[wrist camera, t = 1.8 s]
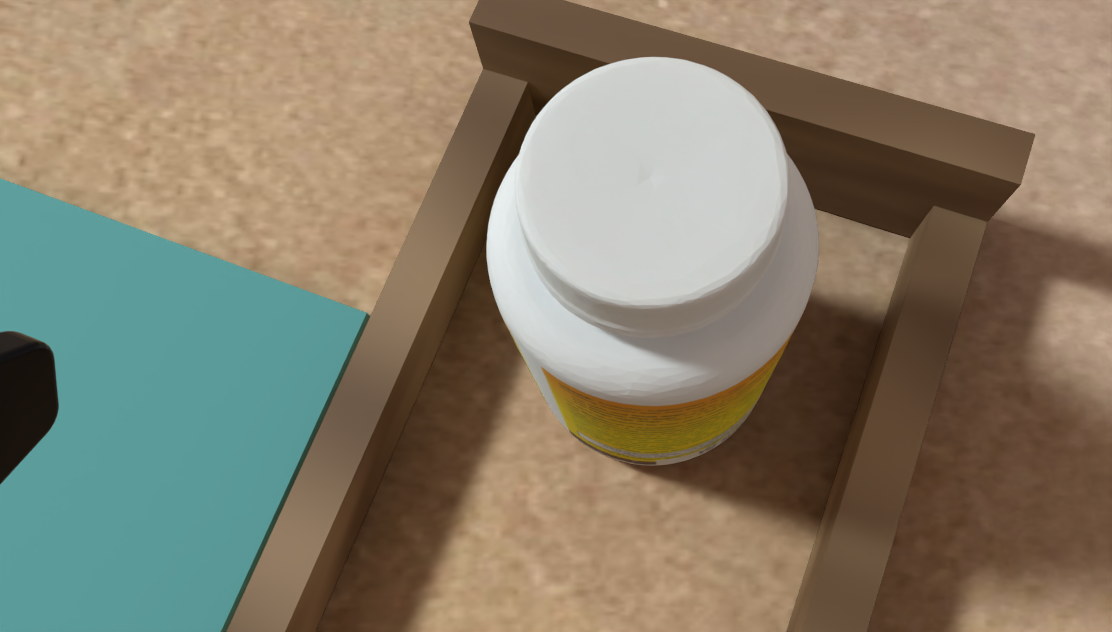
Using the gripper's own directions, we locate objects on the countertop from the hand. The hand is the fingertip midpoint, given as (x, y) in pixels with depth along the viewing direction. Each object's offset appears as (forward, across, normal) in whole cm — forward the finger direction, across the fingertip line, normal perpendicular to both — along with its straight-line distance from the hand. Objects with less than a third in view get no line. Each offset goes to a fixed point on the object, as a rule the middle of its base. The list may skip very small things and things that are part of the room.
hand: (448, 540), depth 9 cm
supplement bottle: (+14, 0, +6) cm, 15 cm away
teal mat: (+8, +14, +11) cm, 19 cm away
